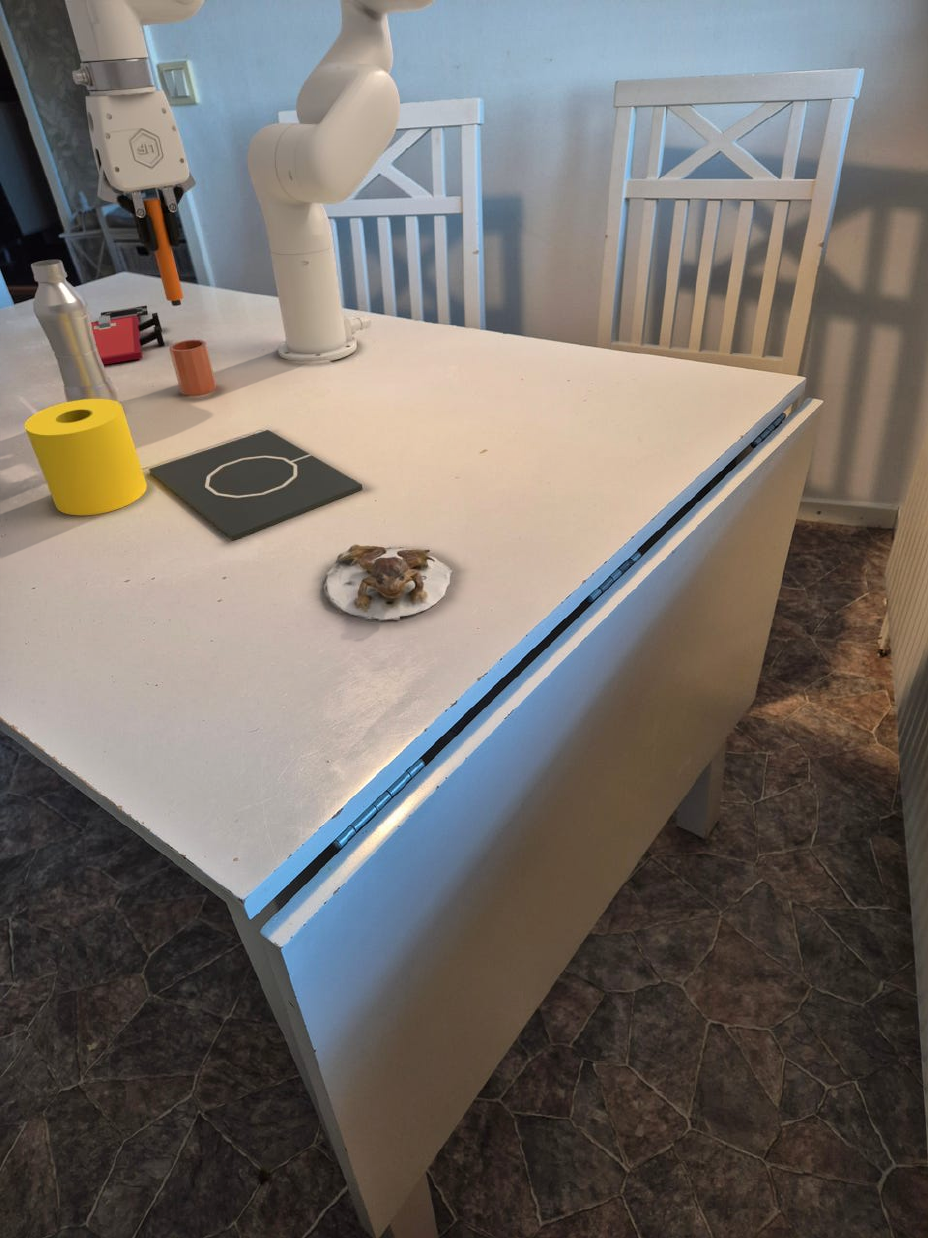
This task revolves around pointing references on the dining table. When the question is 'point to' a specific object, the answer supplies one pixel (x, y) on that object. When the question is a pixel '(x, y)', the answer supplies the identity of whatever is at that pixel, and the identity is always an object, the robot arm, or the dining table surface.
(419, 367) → the dining table surface
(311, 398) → the dining table surface
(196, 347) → the pen cup
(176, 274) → the marker
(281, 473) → the slate board
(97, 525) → the dining table surface
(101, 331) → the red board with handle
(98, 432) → the yellow hollow cylinder
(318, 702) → the dining table surface
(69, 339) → the silver bottle
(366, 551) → the frog figurine
